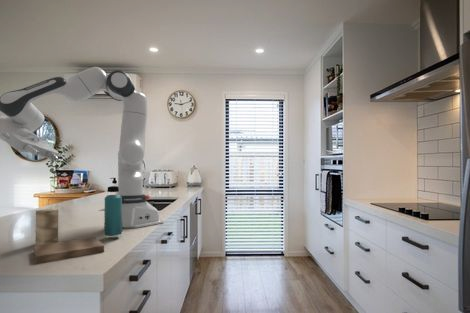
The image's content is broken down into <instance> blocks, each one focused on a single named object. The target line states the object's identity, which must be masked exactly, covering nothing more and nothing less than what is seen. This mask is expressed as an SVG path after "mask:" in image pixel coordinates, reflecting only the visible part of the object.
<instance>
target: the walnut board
mask: <svg viewBox="0 0 470 313" xmlns="http://www.w3.org/2000/svg"><path fill="white" fill-rule="evenodd" d="M103 252H105V244H103V243H102V242H101V241H100V240H99V239H97V237H96V236H94V237H86V238H80V239H73V240H66V241H60V242H59V241H58V243H51V244H44V245H34V251H33V253H34V259H35V263H36V265H37V264H42V263H47V262H53V261H58V260H65V259H71V258H75V257H81V256H88V255H93V254H94V255H95V254H100V253H103Z"/></svg>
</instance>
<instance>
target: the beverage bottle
mask: <svg viewBox="0 0 470 313" xmlns="http://www.w3.org/2000/svg"><path fill="white" fill-rule="evenodd" d="M118 192H119V187H118V185H116V186H115V185H113V186H108V187H107V193H118ZM103 215H104V222H103V223H104V225H103V227H104V230H103V231H104V236H106V237H107V236H108V237H114V236H119V235H122V233H123V227H122V197H121V196H120V195H118V194H107V195H106V196H105V197H104V213H103Z"/></svg>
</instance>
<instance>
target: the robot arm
mask: <svg viewBox="0 0 470 313" xmlns="http://www.w3.org/2000/svg"><path fill="white" fill-rule="evenodd" d="M100 92H104V94H105V95H107V96H109V97H110V98H111V99H113V100H115V101H117V102H121V101H122V103H123V104H122V105H123V107H122V108H123V109H122V116H121V124H120V125H121V126H120V139H119V147H118V148H119V149H118V153H117V168H118V169H117V173H118V176H117V177H118V178H117V180H118V181H117V183H118V185H117V186H118V187H119V192H117V193H118V194H117V195H120V196H121V197H122V228H130V229H131V228H133V229H134V228H135V229H137V228H138V229H139V228H143V227H144V228H145V227H148V226H154V225H160V224H164V222H165V221H164V219H163V218H160V212H159V210H158V209H157V208H156V207H154V206H153V205H152V204H151V203H149V202H148V201H149V200H150V199H151V197H150V195H148V194H144V192H143V191H144V177H143V176H144V175H143V162H142V161H143V160H144V157H145V146H146V130H147V129H146V127H147V118H148V101H147V97H146V95H145V94H144V93H142V92H140V91H136V88H135V85H134V82H133V80H132V78H131V77H130V75H129V74H128V73H127V72H125V71H124V70H121V69H118V70H113V71H111V72H110V73H108V74H107V73H106V72H105V70H103V69H102V68H101V67H98V66H93V67H89V68H87V69H84V70H82V71H80V72H77V73H76V74H73V75H71V76H67V77H62V76H55V77H51V78H49V79H46V80H42V81H40V82H37V83H35V84H32V85H29V86H25V87H23V88H20V89H15V90H10V91H8V92H4V93H3V94H2V95H1V96H0V112H1V113H3V114H4V115H0V140H2V141H4V142H6V143H7V144H8V145H9V146H10V147H12V148H13V149H15V151H18V152H20V153H31V155H34V156H39V157H42V158H46V159H48V160H49V159H50V160H51V161H52V162H57V161H58V159H59V157H58V156H59V152H58V150H56V149H55V148H54V147H53V146H52V145H50V144H48V142H47V140H45V139H43V138H41V137H40V136H38V135H37V134H35V133H36V132H37V131H38V130H39V129H41V128H42V126H43V125H44V123H45V120H46V118H45V115H44V114H43V113H42V112H41V111H40V110H39V109H38V108H37V106H35V105H34V104H33V103H32V102H34V101H36V100H38V99H41V98H43V97H46V96H49V95H55V94H56V95H58V96H59V95H60V96H62V97H63V98H64V97H65V98H66V99H67V100H70V101H73V102H83V101H86V100H88V99H89V98H91V97H92V96H94V95H96V94H98V93H100Z"/></svg>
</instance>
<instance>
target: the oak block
mask: <svg viewBox="0 0 470 313" xmlns="http://www.w3.org/2000/svg"><path fill="white" fill-rule="evenodd" d="M58 242H59V209H55V208H47V209H39V210H35V246H37V245H44V244H51V243H58Z"/></svg>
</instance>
